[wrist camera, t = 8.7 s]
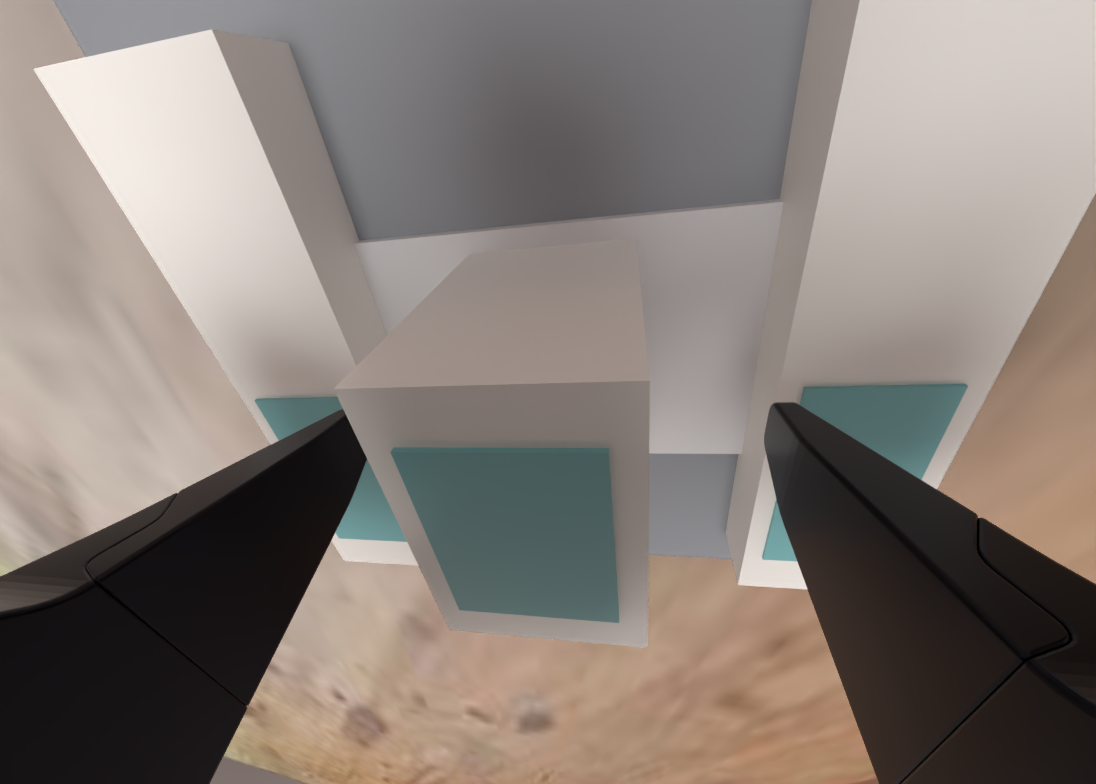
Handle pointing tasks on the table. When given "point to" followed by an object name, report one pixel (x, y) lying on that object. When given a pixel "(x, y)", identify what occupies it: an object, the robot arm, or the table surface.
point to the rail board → (612, 203)
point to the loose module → (520, 441)
